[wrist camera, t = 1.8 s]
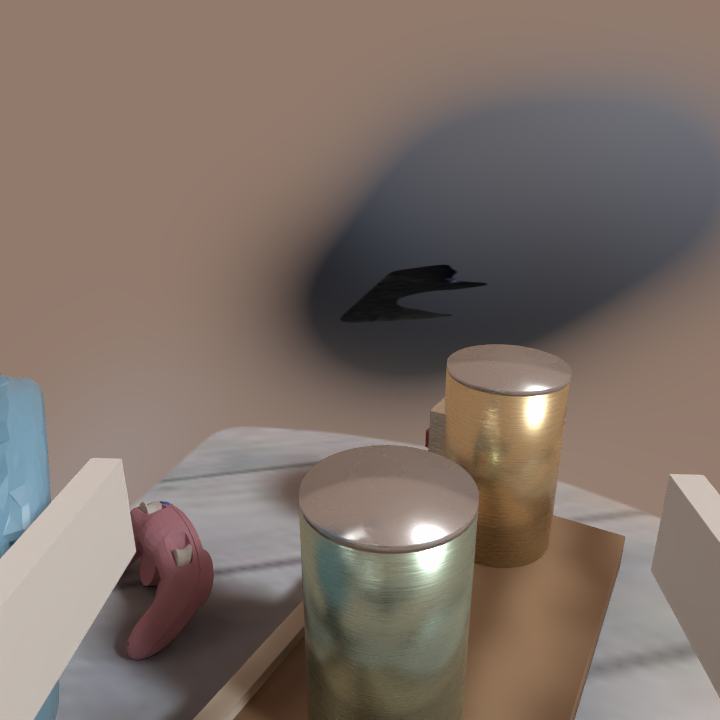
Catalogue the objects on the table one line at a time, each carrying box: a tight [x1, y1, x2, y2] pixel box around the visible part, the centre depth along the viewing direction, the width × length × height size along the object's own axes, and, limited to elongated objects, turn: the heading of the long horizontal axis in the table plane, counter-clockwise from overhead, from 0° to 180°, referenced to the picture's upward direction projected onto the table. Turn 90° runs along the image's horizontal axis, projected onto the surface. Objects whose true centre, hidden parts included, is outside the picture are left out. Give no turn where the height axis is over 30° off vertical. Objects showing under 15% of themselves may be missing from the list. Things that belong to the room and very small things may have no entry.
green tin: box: [299, 445, 479, 720], centre depth 30 cm, size 8×8×12 cm
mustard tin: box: [425, 344, 571, 568], centre depth 42 cm, size 8×8×12 cm
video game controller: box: [126, 501, 214, 660], centre depth 41 cm, size 10×5×7 cm, turn 35°
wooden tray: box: [193, 515, 625, 720], centre depth 35 cm, size 16×32×3 cm, turn 150°
